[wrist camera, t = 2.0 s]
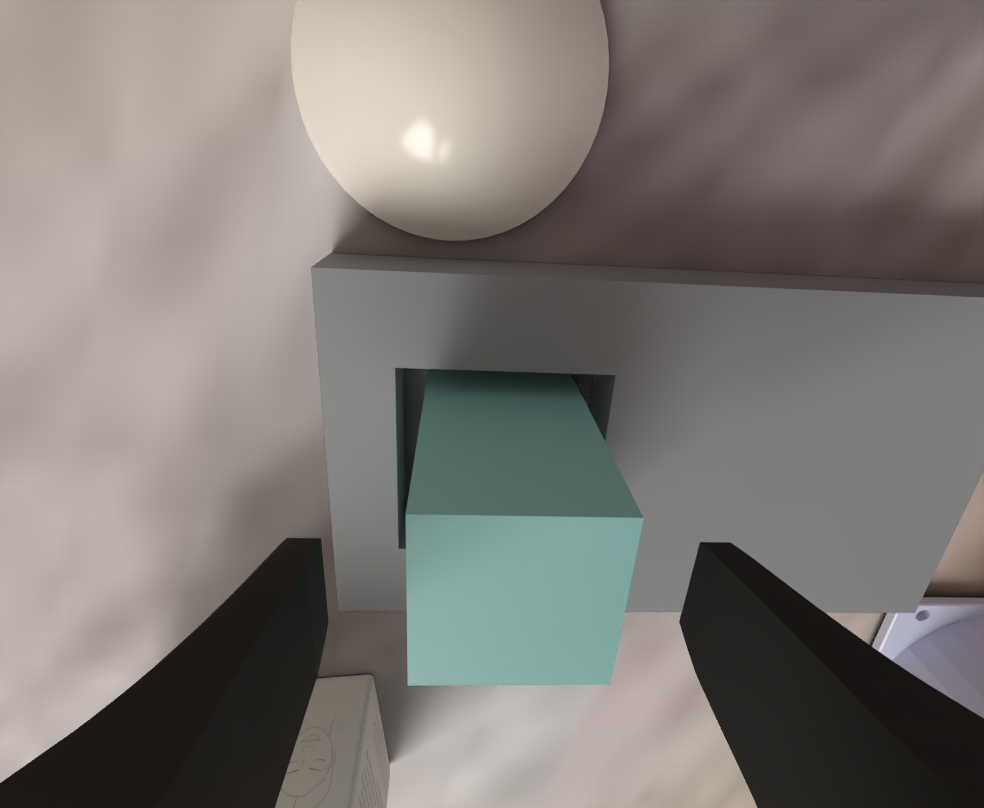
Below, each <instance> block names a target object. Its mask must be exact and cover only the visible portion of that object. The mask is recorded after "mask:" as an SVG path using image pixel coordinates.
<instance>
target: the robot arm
mask: <svg viewBox="0 0 984 808" xmlns="http://www.w3.org/2000/svg"><path fill="white" fill-rule="evenodd" d="M679 622H680V625H681V629H682V632H683V635H684V639H685V642H686V645H687V648H688V652H689V655H690V657H691V660H692V663H693V666H694V669H695V672H696V675H697V677H698V679H699V682H700V684H701V686H702V688H703V690H704V693H705V695H706V697H707V699H708V701H709V704H710V706H711V708H712V710H713V712H714V715H715V717H716V719H717V721H718V723H719V725H720V727H721V730H722V732H723V734H724V736H725V738H726V740H727V742H728V744H729V747H730V749H731V751H732V753H733V755H734V757H735V759H736V762H737V764H738V766H739V768H740V770H741V772H742V774H743V777H744V779H745V781H746V783H747V785H748V787H749V789H750V792H751V794H752V796H753V798H754V800H755V803H756V805H757V807H758V808H984V598H949V597H923V598H922V600H921V602H920V604H919V606H918V608H917V610H916V612H915V613H887V614H886V616H885V618H884V621H883V623H882V625H881V627H880V629H879V632H878V634H877V636H876V638H875V640H874V643H873V645H872V646H870V645H869V644H867V643H866V642H864V641H863V640H862V639H860V638H859V637H857V636H856V635H855V634H853V633H852V632H850V631H849V630H848V629H846V628H845V627H843V626H842V625H841V624H839V623H838V622H837V621H835V620H834V619H832V618H831V617H830V616H828V615H827V614H826V613H824V612H823V611H822V610H820V609H819V608H818V607H816V606H815V605H814V604H812V603H811V602H810V601H808V600H807V599H806V598H804V597H803V596H802V595H800V594H799V593H798V592H797V591H795V590H794V589H793V588H791V587H790V586H789V585H787V584H786V583H785V582H783V581H782V580H781V579H780V578H778V577H777V576H776V575H774V574H773V573H772V572H770V571H769V570H768V569H766V568H765V567H764V566H763V565H761V564H760V563H759V562H757V561H756V560H755V559H753V558H752V557H751V556H749V555H748V554H746V553H745V552H744V551H742V550H741V549H739V548H738V547H737V546H735V545H734V544H732V543H731V542H700V544H699V547H698V551H697V555H696V559H695V563H694V567H693V571H692V575H691V578H690V582H689V586H688V590H687V594H686V598H685V602H684V606H683V610H682V613H681V617H680V621H679ZM327 626H328V613H327V602H326V591H325V580H324V569H323V557H322V546H321V538H287V539H286V540H284V541H283V542H282V543H281V544H280V545H279V546H278V547H277V548H276V549H275V550H274V551H273V552H272V553H271V554H270V556H269V557H268V558H267V559H266V560H265V561H264V562H263V563H262V564H261V565H260V566H259V567H258V568H257V569H256V570H255V571H254V572H253V573H252V574H251V575H250V576H249V577H248V578H247V580H246V581H245V582H244V583H243V584H242V585H241V586H240V587H239V588H238V589H237V590H236V591H235V592H234V593H233V594H232V595H231V596H230V597H229V598H228V599H227V600H226V601H225V602H224V603H223V604H222V605H221V606H220V607H219V608H217V609H216V610H215V611H214V612H213V613H212V614H211V615H210V616H209V617H208V618H207V619H206V620H205V621H204V622H203V623H202V624H201V625H200V626H199V627H198V628H197V629H196V630H195V631H194V632H193V633H191V634H190V635H189V636H188V637H187V638H186V639H185V640H184V641H183V642H181V643H180V644H179V645H178V646H177V647H176V648H175V649H174V650H173V651H171V652H170V653H169V654H168V655H167V656H166V657H165V658H164V659H163V660H161V661H160V662H159V663H158V664H157V665H156V666H155V667H154V668H152V669H151V670H150V671H149V672H148V673H147V674H145V675H144V676H143V677H142V678H141V679H139V680H138V681H137V682H136V683H135V684H134V685H132V686H131V687H130V688H129V689H127V690H126V691H125V692H124V693H123V694H121V695H120V696H119V697H118V698H116V699H115V700H114V701H113V702H111V703H110V704H109V705H107V706H106V707H105V708H104V709H102V710H101V711H100V712H99V713H97V714H96V715H95V716H93V717H92V718H91V719H90V720H88V721H87V722H86V723H84V724H83V725H82V726H80V727H79V728H78V729H76V730H75V731H74V732H72V733H71V734H69V735H68V736H67V737H65V738H64V739H62V740H61V741H59V742H58V743H57V744H55V745H54V746H52V747H51V748H50V749H48V750H47V751H45V752H44V753H42V754H41V755H40V756H38V757H37V758H35V759H34V760H32V761H31V762H30V763H28V764H27V765H25V766H24V767H23V768H21V769H20V770H18V771H17V772H15V773H14V774H13V775H11V776H10V777H8V778H7V779H6V780H4V781H3V782H1V783H0V808H275V806H276V802H277V799H278V796H279V793H280V790H281V787H282V784H283V781H284V778H285V775H286V772H287V769H288V766H289V763H290V760H291V757H292V753H293V750H294V747H295V744H296V741H297V738H298V735H299V732H300V729H301V726H302V723H303V720H304V717H305V714H306V710H307V707H308V704H309V701H310V698H311V695H312V692H313V689H314V685H315V682H316V679H317V675H318V671H319V666H320V661H321V657H322V652H323V647H324V642H325V637H326V631H327Z"/></svg>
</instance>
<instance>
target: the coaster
mask: <svg viewBox="0 0 984 808" xmlns="http://www.w3.org/2000/svg"><path fill="white" fill-rule="evenodd" d="M291 68H292V75H293V82H294V89H295V94H296V98H297V102H298V106H299V110H300V114H301V116H302V119H303V122H304V124H305V127H306V130H307V132H308V135H309V137H310V139H311V141H312V143H313V145H314V147H315V149H316V151H317V153H318V155H319V157H320V158H321V160H322V161H323V163H324V164H325V166H326V167H327V169H328V170H329V172H330V173H331V175H332V176H333V177H334V178H335V179H336V180H337V182H338V183H339V184H340V185H341V186H342V188H343V189H344V190H345V191H346V192H347V193H348V194H349V195H350V196H351V197H352V198H353V199H354V200H356V201H357V202H358V203H359V204H360V205H361V206H362V207H364V208H365V209H366V210H368V211H369V212H371V213H372V214H373V215H375V216H376V217H378V218H379V219H381V220H383V221H385V222H387V223H388V224H390V225H392V226H394V227H396V228H399V229H401V230H404V231H406V232H409V233H411V234H414V235H418V236H422V237H426V238H430V239H438V240H447V241H463V240H474V239H480V238H486V237H489V236H493V235H496V234H500V233H503V232H505V231H508V230H510V229H512V228H514V227H516V226H519V225H521V224H522V223H524V222H526V221H527V220H529V219H531V218H532V217H534V216H535V215H537V214H538V213H539V212H541V211H542V210H543V209H544V208H546V207H547V206H548V205H549V204H550V203H552V202H553V201H554V200H555V199H556V198H557V197H558V195H559V194H560V193H561V192H562V191H563V190H564V189H565V188H566V187H567V186H568V184H569V183H570V181H571V180H572V179H573V177H574V176H575V175H576V173H577V172H578V171H579V169H580V167H581V165H582V164H583V162H584V160H585V158H586V157H587V155H588V153H589V151H590V149H591V146H592V144H593V141H594V139H595V137H596V134H597V132H598V128H599V125H600V122H601V118H602V115H603V112H604V106H605V101H606V95H607V90H608V76H609V49H608V37H607V31H606V25H605V18H604V14H603V11H602V7H601V3H600V0H297V2H296V6H295V11H294V15H293V24H292V34H291Z"/></svg>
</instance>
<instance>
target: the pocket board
mask: <svg viewBox="0 0 984 808" xmlns="http://www.w3.org/2000/svg"><path fill="white" fill-rule="evenodd" d="M311 273H312V286H313V299H314V311H315V324H316V337H317V350H318V362H319V375H320V388H321V400H322V413H323V426H324V438H325V451H326V464H327V477H328V489H329V502H330V515H331V527H332V540H333V553H334V566H335V578H336V591H337V604H338V611H407V590H406V509H407V507H405V453H404V371H403V368H416V369H446V370H476V371H506V372H536V373H567V374H594V378H593V386H592V393H591V400H590V407H589V411H590V412H591V414H592V416H593V418H594V420H595V422H596V424H597V426H598V428H599V430H600V432H601V434H602V436H603V438H604V440H605V442H606V444H607V446H608V448H609V450H610V452H611V454H612V456H613V458H614V460H615V462H616V464H617V466H618V468H619V470H620V472H621V474H622V476H623V478H624V480H625V482H626V484H627V486H628V488H629V490H630V492H631V494H632V496H633V498H634V500H635V502H636V504H637V506H638V508H639V510H640V512H641V514H642V516H643V517H644V519H643V524H642V529H641V534H640V539H639V544H638V549H637V554H636V559H635V564H634V569H633V574H632V579H631V584H630V589H629V594H628V599H627V604H626V609H625V612H682V610H683V606H684V602H685V598H686V594H687V590H688V586H689V582H690V578H691V575H692V571H693V567H694V563H695V559H696V555H697V551H698V547H699V544H700V542H731V543H732V544H734V545H735V546H737V547H738V548H739V549H741V550H742V551H744V552H745V553H746V554H748V555H749V556H751V557H752V558H753V559H755V560H756V561H757V562H759V563H760V564H761V565H763V566H764V567H765V568H766V569H768V570H769V571H770V572H772V573H773V574H774V575H776V576H777V577H778V578H780V579H781V580H782V581H783V582H785V583H786V584H787V585H789V586H790V587H791V588H793V589H794V590H795V591H797V592H798V593H799V594H800V595H802V596H803V597H804V598H806V599H807V600H808V601H810V602H811V603H812V604H814V605H815V606H816V607H818V608H819V609H820V610H822V611H823V612H824V613H915V612H916V610H917V608H918V606H919V604H920V602H921V600H922V598H923V595H924V593H925V591H926V589H927V587H928V585H929V583H930V581H931V579H932V577H933V575H934V573H935V571H936V569H937V566H938V564H939V562H940V560H941V558H942V556H943V554H944V552H945V550H946V548H947V546H948V544H949V542H950V540H951V537H952V535H953V533H954V531H955V529H956V527H957V525H958V523H959V521H960V519H961V517H962V515H963V513H964V511H965V508H966V506H967V504H968V502H969V500H970V498H971V496H972V494H973V492H974V490H975V488H976V486H977V484H978V482H979V480H980V477H981V475H982V473H983V471H984V284H982V283H961V282H939V281H918V280H896V279H875V278H853V277H832V276H810V275H789V274H768V273H746V272H725V271H703V270H682V269H660V268H639V267H617V266H596V265H575V264H553V263H532V262H510V261H489V260H467V259H446V258H424V257H403V256H381V255H360V254H339V253H330V254H329V255H327V256H326V257H325V258H323V259H322V260H321V261H319V262H318V263H316V264H315V265H314V266H312V267H311Z"/></svg>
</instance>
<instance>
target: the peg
mask: <svg viewBox="0 0 984 808" xmlns="http://www.w3.org/2000/svg"><path fill="white" fill-rule="evenodd" d="M643 519H644V517H643V516H642V514H641V512H640V510H639V508H638V506H637V504H636V502H635V500H634V498H633V496H632V494H631V492H630V490H629V488H628V486H627V484H626V482H625V480H624V478H623V476H622V474H621V472H620V470H619V468H618V466H617V464H616V462H615V460H614V458H613V456H612V454H611V452H610V450H609V448H608V446H607V444H606V442H605V440H604V438H603V436H602V434H601V432H600V430H599V428H598V426H597V424H596V422H595V420H594V418H593V416H592V414H591V412H590V411H589V409H588V407H587V405H586V403H585V401H584V399H583V397H582V395H581V393H580V391H579V389H578V387H577V385H576V383H575V381H574V379H573V377H572V375H571V374H567V373H536V372H506V371H476V370H446V369H428V375H427V381H426V388H425V394H424V400H423V407H422V413H421V419H420V426H419V432H418V439H417V445H416V451H415V458H414V464H413V470H412V477H411V483H410V489H409V496H408V502H407V509H406V590H407V675H408V686H432V685H600V684H610V683H611V678H612V674H613V669H614V664H615V659H616V654H617V649H618V644H619V639H620V634H621V629H622V624H623V619H624V614H625V609H626V604H627V599H628V594H629V589H630V584H631V579H632V574H633V569H634V564H635V559H636V554H637V549H638V544H639V539H640V534H641V529H642V524H643Z"/></svg>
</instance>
